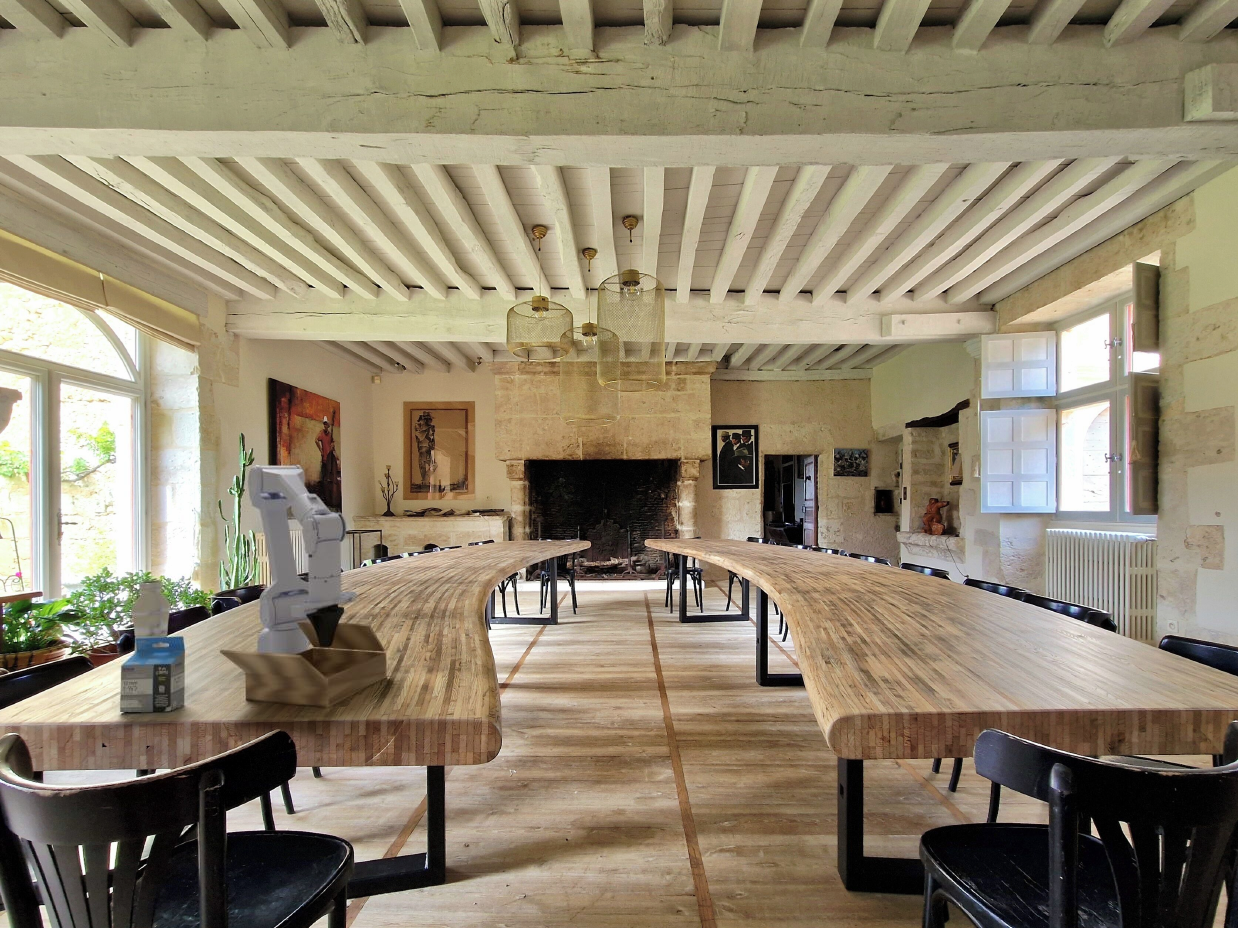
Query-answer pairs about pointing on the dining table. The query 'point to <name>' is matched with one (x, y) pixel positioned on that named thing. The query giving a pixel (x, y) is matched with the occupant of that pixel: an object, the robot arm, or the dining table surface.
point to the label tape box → (154, 676)
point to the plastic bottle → (151, 612)
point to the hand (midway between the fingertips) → (326, 646)
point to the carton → (341, 680)
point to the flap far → (346, 636)
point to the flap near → (273, 664)
